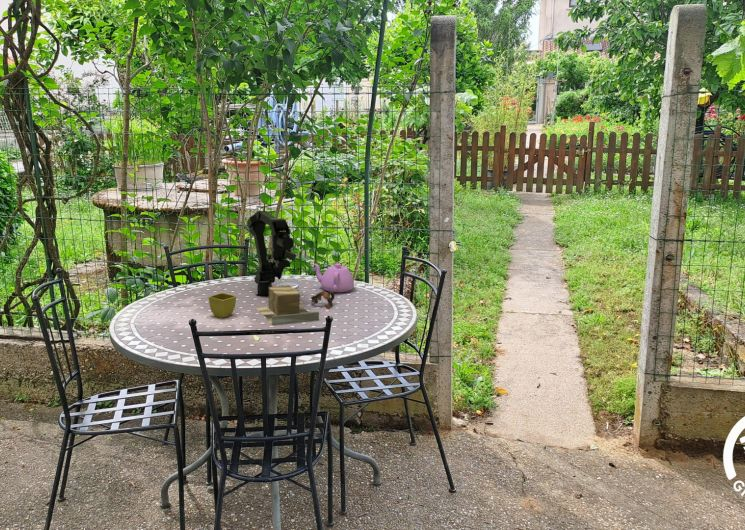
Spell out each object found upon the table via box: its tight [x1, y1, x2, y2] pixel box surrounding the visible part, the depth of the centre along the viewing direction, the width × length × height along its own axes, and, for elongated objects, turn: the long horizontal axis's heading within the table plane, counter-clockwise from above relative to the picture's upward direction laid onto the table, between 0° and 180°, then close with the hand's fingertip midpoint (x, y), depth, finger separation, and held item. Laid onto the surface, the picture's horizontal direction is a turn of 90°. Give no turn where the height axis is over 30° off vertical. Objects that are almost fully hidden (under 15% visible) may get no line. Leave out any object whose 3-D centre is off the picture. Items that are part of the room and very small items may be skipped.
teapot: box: [312, 262, 355, 293], centre depth 337 cm, size 22×22×14 cm
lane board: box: [255, 304, 320, 326], centre depth 293 cm, size 26×21×4 cm
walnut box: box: [268, 284, 301, 316], centre depth 295 cm, size 14×10×10 cm
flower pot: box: [208, 292, 237, 319], centre depth 287 cm, size 9×9×9 cm
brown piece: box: [310, 290, 336, 309], centre depth 309 cm, size 12×10×8 cm
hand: (278, 278), depth 308 cm, fingers open, 3 cm apart
